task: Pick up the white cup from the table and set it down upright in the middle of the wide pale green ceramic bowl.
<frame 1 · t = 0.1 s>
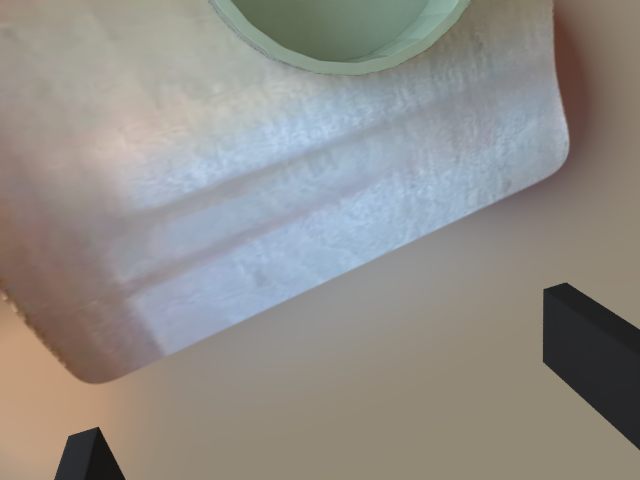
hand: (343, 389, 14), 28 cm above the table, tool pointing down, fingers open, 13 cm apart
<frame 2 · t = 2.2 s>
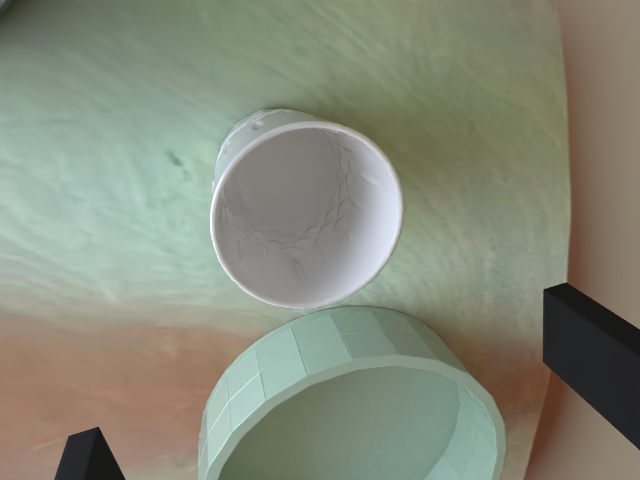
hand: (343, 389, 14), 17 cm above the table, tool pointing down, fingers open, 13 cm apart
white cup: (274, 166, 28), on the table
bowl: (338, 425, 36), on the table
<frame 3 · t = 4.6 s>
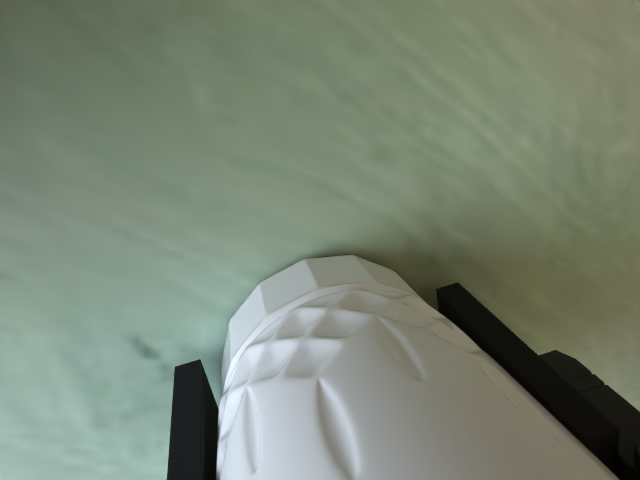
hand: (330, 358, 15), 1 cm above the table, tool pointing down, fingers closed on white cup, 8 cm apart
white cup: (323, 342, 16), on the table, touching gripper
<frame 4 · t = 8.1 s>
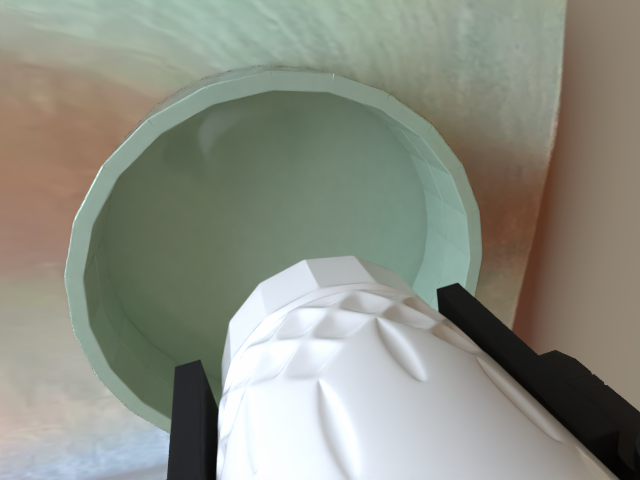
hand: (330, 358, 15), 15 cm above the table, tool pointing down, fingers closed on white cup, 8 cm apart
white cup: (324, 343, 16), point 14 cm above the table, touching gripper
bowl: (276, 244, 29), on the table
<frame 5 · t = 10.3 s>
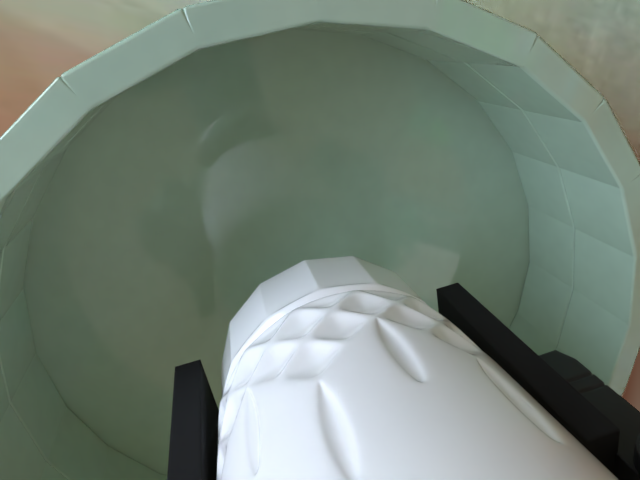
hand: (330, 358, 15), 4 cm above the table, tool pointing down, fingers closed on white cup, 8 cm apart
white cup: (324, 343, 16), point 4 cm above the table, touching gripper
bowl: (302, 291, 19), on the table
when the fingers open (1 cm above the table, at t = 11.6 s): white cup stays where it is, resting on bowl.
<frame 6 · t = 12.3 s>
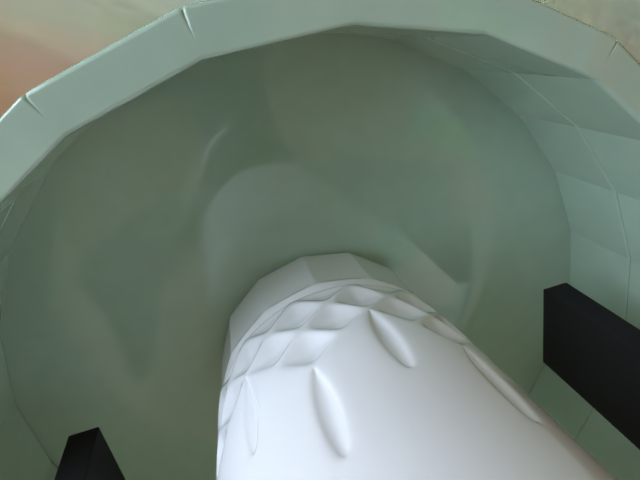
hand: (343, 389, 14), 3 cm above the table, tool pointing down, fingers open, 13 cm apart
white cup: (321, 338, 16), point 1 cm above the table, touching bowl
bowl: (316, 327, 17), on the table
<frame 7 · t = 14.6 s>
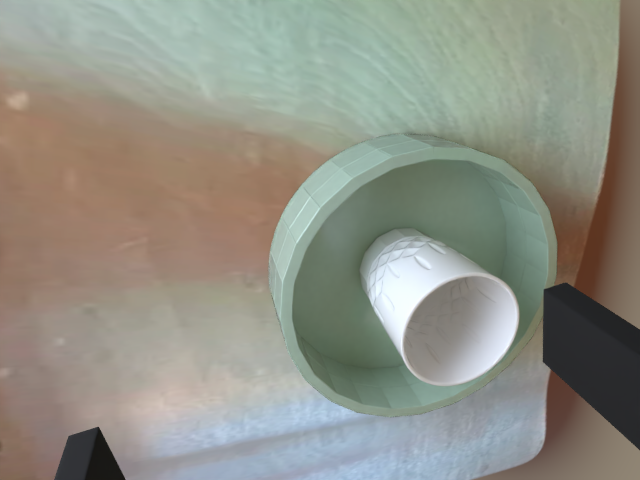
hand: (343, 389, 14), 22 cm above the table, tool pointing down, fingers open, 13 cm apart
white cup: (397, 265, 38), point 1 cm above the table, touching bowl
bowl: (394, 262, 39), on the table
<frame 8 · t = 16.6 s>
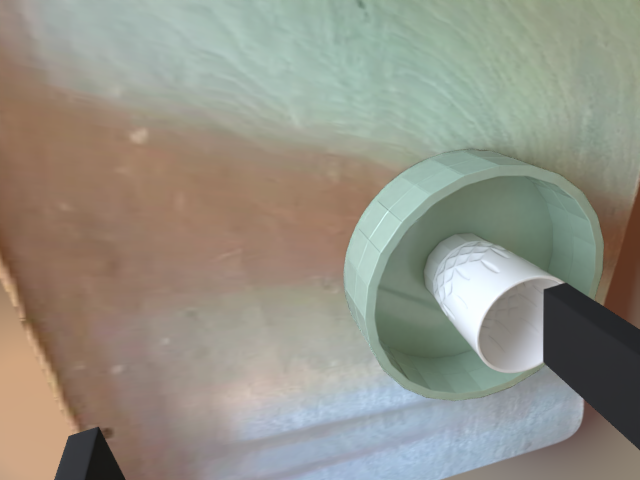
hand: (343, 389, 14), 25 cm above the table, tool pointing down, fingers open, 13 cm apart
white cup: (456, 266, 43), point 1 cm above the table, touching bowl
bowl: (453, 263, 43), on the table
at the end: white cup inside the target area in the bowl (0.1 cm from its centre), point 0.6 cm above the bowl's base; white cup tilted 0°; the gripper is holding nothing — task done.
